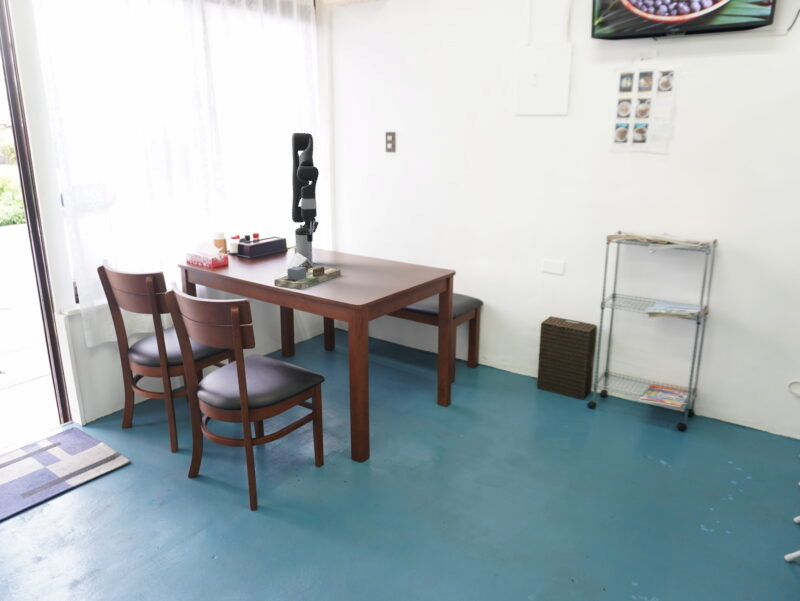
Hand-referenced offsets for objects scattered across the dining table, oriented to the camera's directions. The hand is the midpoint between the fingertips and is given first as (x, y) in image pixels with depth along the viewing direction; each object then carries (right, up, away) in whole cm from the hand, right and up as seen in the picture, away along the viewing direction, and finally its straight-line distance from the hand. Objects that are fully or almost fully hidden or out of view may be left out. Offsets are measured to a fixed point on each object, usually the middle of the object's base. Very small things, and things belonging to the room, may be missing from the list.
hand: (309, 241), depth 289 cm
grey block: (-6, -19, -5) cm, 20 cm away
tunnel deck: (-1, -20, +3) cm, 20 cm away
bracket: (-10, -13, +28) cm, 33 cm away
